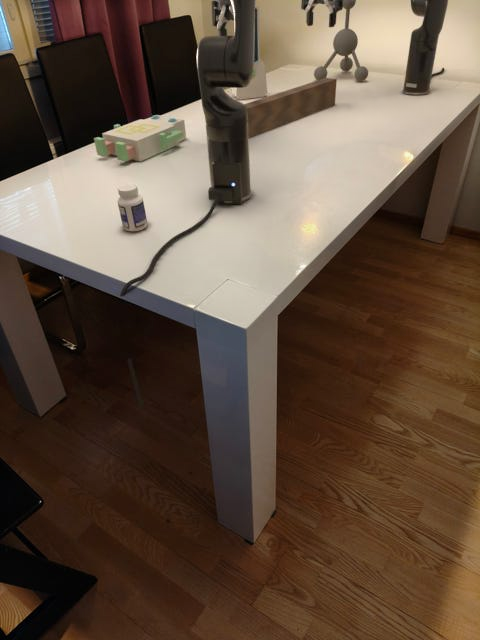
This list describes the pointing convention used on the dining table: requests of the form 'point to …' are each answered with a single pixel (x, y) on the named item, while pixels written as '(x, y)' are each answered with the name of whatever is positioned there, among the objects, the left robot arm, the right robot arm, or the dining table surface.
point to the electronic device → (254, 71)
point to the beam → (290, 105)
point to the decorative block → (141, 138)
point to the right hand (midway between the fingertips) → (320, 26)
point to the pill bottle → (131, 208)
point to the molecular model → (344, 49)
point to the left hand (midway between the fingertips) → (234, 45)
